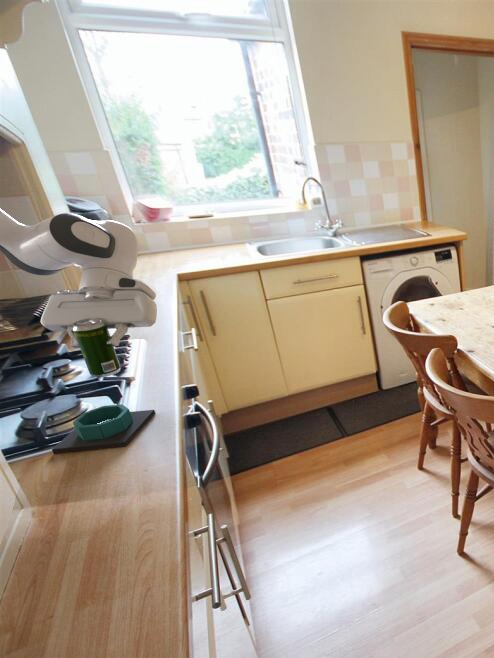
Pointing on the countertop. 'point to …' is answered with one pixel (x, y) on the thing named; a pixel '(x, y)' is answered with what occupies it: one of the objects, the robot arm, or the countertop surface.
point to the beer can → (96, 347)
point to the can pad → (107, 442)
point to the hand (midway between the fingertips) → (94, 346)
